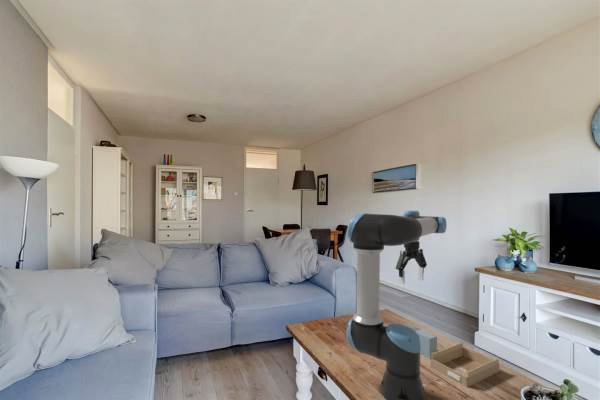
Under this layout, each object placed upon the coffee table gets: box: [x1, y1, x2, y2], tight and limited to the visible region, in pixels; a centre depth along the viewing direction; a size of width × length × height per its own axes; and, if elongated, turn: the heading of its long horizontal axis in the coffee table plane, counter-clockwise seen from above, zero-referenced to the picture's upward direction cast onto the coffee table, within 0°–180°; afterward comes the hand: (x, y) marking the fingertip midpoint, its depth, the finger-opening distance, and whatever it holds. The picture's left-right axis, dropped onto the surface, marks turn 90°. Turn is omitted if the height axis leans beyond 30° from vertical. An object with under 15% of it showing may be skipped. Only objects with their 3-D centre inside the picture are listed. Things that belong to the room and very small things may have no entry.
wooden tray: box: [430, 342, 500, 388], centre depth 125 cm, size 22×16×6 cm
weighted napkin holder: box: [410, 326, 438, 360], centre depth 141 cm, size 5×12×9 cm, turn 29°
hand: (411, 281), depth 156 cm, fingers open, 13 cm apart
